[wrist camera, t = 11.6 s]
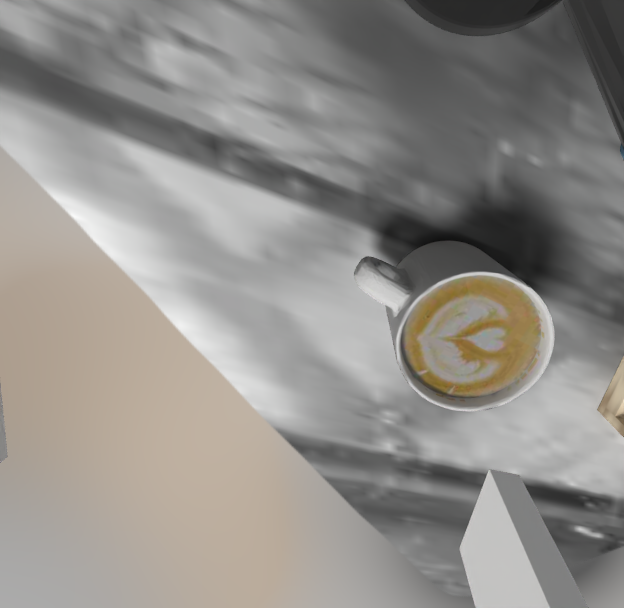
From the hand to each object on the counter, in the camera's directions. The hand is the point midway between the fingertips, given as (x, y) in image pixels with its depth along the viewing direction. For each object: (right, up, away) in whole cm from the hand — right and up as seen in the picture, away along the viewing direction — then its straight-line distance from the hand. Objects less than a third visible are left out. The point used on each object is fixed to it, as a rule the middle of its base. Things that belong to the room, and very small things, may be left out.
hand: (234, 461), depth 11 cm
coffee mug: (+12, +6, +25) cm, 29 cm away
